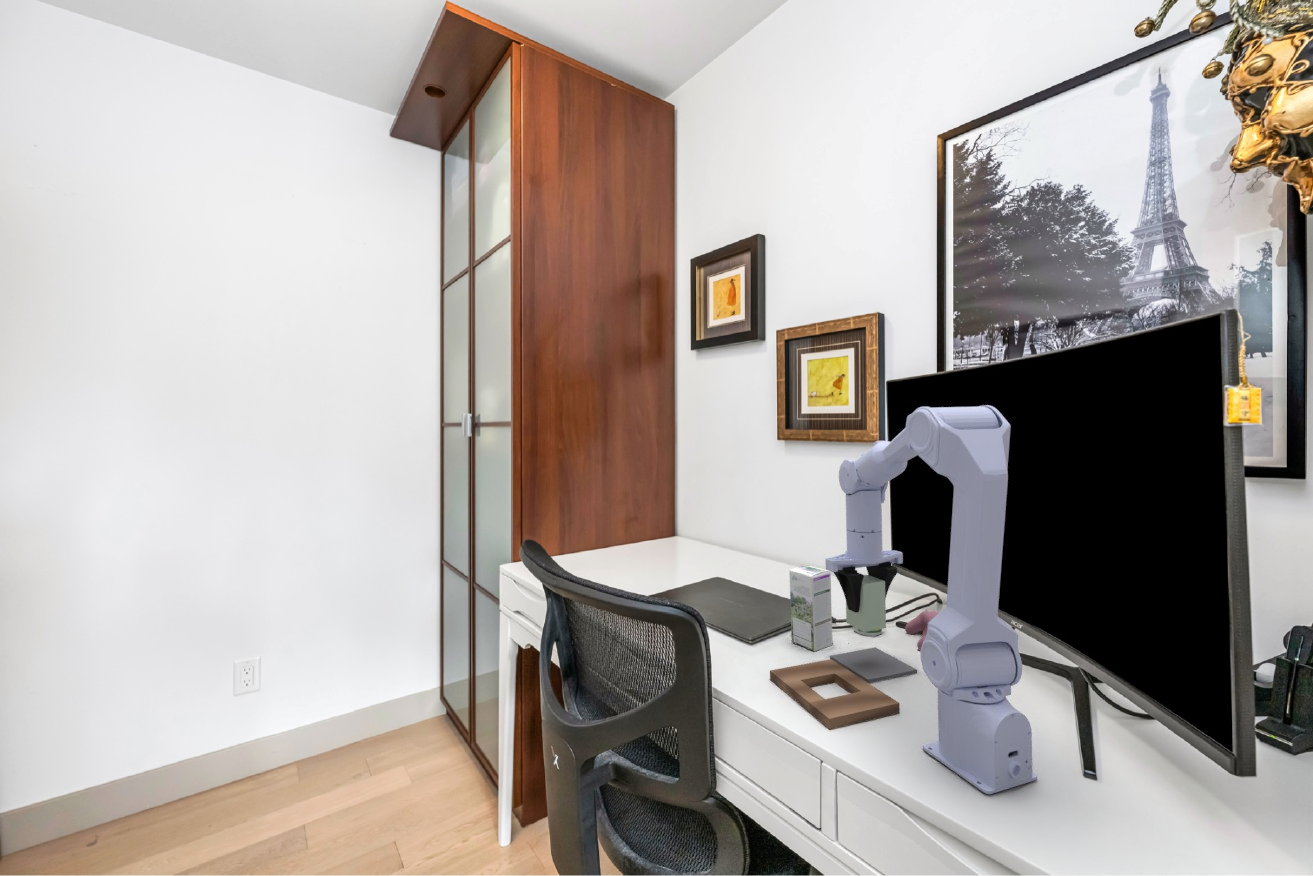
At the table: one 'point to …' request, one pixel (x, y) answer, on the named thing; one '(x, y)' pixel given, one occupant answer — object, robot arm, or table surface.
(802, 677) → the board
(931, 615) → the video game controller
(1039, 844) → the table surface
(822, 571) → the syrup box
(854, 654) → the charcoal mat
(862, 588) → the sage block
